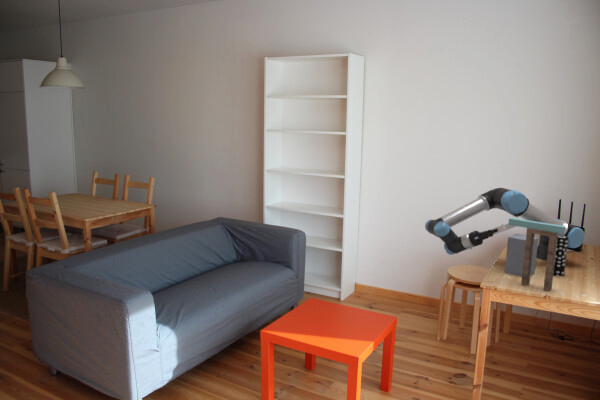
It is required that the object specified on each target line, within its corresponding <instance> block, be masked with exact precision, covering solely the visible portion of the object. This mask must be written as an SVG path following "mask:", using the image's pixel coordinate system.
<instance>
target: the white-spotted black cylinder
mask: <svg viewBox="0 0 600 400" xmlns="http://www.w3.org/2000/svg"><path fill="white" fill-rule="evenodd" d="M567 246H568V237H567V236H563V235H558V238H557V247H556V255H555V264H554V273H553V277H564V276H565V270H566V260H567V254H568V253H567V252H568V247H567Z"/></svg>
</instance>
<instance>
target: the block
mask: <svg viewBox="0 0 600 400" xmlns="http://www.w3.org/2000/svg"><path fill="white" fill-rule="evenodd" d="M525 244H526V235H525V234H519V233H516V234H513V235H509V236H508V237H507V244H506V258H505V266H504V267H505V269H504V273H506V274H509V275H515V276H518V277H522V273H523V263H524V253H525ZM538 244H539V237H536V236H534V245H533V255H532V264H531V274H530V276H533V275H535V272H536V265H537V257H536V255H537V246H538Z"/></svg>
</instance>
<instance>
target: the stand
mask: <svg viewBox="0 0 600 400" xmlns="http://www.w3.org/2000/svg"><path fill="white" fill-rule="evenodd" d="M535 235H539V236H540V235H545V236H549V245H548V254H547V260H546V263H545V264H546V265H545V274H544V280H543V281H544V283H543V291H544V292H550V291H551V290H552V288H553V281H554V280H553V278H554V276H553V273H554V264H555V255H556V247H557V238H558V233H555V232H549V231H543V230H537V229H531V228H526V244H525V253H524V263H523V273H522V276H521V282H520V283H521V286H523V287H527V286H529V285H530V283H531V282H530V281H531V275H530V274H531V264H532V255H533V245H534V237H536V236H535Z"/></svg>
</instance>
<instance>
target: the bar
mask: <svg viewBox="0 0 600 400" xmlns="http://www.w3.org/2000/svg"><path fill="white" fill-rule="evenodd" d="M508 223H509V224H508ZM508 223H507V224H508V225H513V226H516V227H518V228H520V227H521V228H526V229H527V228H531V229H537V230H543V231H549V232H555V233H561V234H563V233H565V228H566V226H561V225H555V224H548V223H542V222H535V221H529V220H525V219H521V218H517V217H516V218H515V217H510V218H508Z"/></svg>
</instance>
